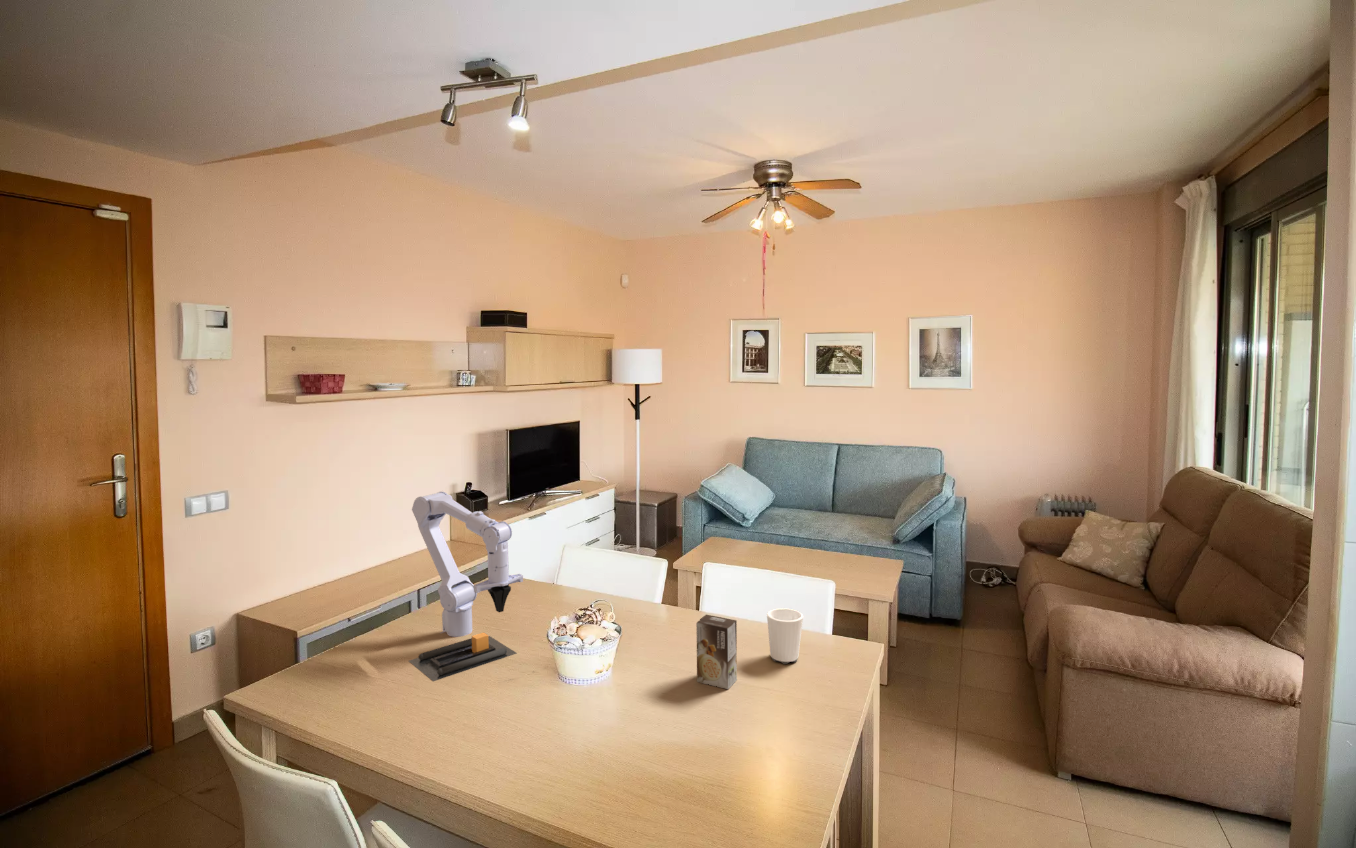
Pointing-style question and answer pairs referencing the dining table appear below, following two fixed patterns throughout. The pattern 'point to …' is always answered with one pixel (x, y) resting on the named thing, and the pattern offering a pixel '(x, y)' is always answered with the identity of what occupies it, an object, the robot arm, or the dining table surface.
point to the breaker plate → (457, 659)
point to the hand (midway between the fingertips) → (499, 611)
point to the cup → (784, 634)
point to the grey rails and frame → (462, 663)
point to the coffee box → (717, 651)
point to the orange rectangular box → (480, 642)
